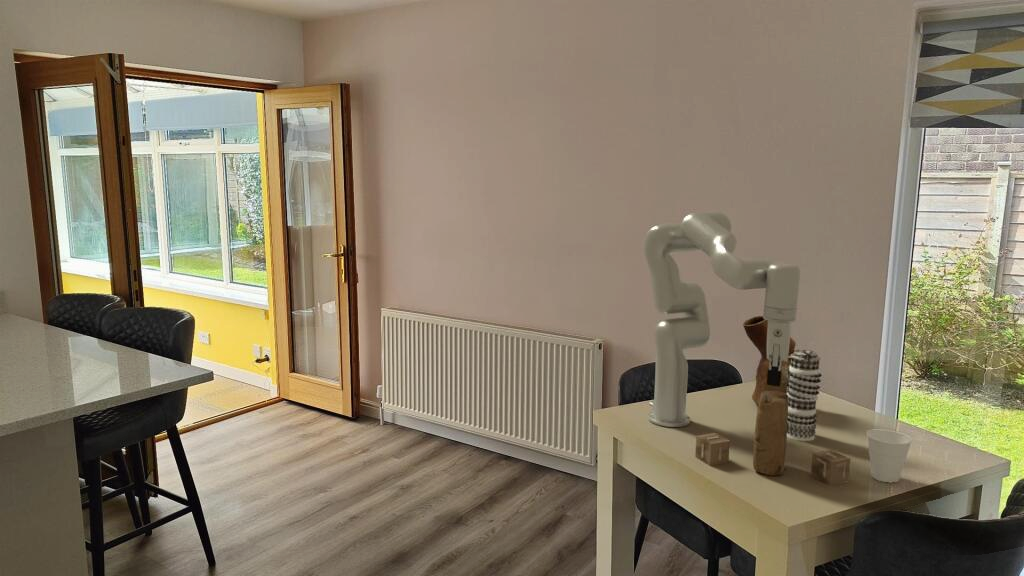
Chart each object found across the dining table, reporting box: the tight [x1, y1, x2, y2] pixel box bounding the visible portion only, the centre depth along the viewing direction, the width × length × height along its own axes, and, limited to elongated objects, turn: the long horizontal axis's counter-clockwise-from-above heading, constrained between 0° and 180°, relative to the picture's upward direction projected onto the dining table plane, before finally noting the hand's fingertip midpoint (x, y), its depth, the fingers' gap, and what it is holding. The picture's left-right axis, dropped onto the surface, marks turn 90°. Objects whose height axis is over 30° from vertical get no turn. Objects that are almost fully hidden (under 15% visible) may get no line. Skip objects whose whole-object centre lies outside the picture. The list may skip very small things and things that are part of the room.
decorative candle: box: [786, 348, 822, 442], centre depth 197 cm, size 9×9×25 cm
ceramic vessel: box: [742, 315, 797, 406], centre depth 222 cm, size 16×22×30 cm
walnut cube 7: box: [810, 449, 851, 486], centre depth 170 cm, size 6×6×6 cm
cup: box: [866, 428, 913, 484], centre depth 170 cm, size 10×10×11 cm
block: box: [752, 391, 788, 476], centre depth 174 cm, size 11×8×20 cm
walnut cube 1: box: [694, 432, 731, 467], centre depth 180 cm, size 6×6×6 cm
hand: (773, 384), depth 173 cm, fingers closed
